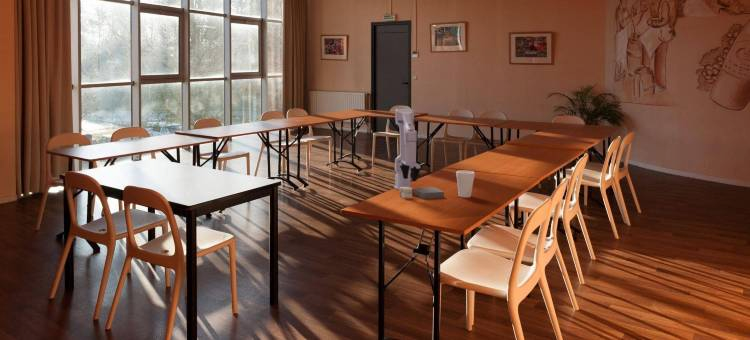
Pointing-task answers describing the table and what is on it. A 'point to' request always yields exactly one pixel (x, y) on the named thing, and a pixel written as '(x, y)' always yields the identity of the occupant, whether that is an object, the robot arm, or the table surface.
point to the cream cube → (405, 192)
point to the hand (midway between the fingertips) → (409, 179)
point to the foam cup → (465, 182)
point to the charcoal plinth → (428, 193)
